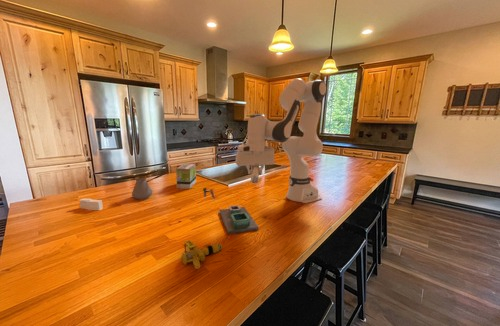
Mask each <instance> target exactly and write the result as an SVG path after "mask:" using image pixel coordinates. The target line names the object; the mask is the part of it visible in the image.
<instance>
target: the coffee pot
mask: <svg viewBox="0 0 500 326" xmlns="http://www.w3.org/2000/svg"><path fill="white" fill-rule="evenodd" d="M165 175H167V176H169V173H168V172H167V171H166V172H164V173H162V174H159V175H156V176H154V177H153V178H150V179H148V180H147V176H145V175H140V176H136V177H135V178H134V179H135V184H134V187H133V188H132V192H131V196H132V198H135V199H136V200H141V201H142V200H146V199H148V198H150V197H151V196H152V194H153V190H152V188H151V186H150V184H149V182H151V181H153V180H156V179H158V178H161V177H162V176H165Z"/></svg>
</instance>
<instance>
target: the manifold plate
mask: <svg viewBox="0 0 500 326" xmlns="http://www.w3.org/2000/svg"><path fill="white" fill-rule="evenodd" d="M218 211H219V212H218V213H219V215H220V218H221V220H222V222H223V226H224V227H225V231H226V233H227V235H229V236H230V235H234V234H239V233H241V234H242V233H246V232H253V231H259V225H258V224H257V222H256V221H255V220H254V218H253V217H252V216H251V215H252V214H250V213H249V212H248V210H247V208H246V207H245V206H240V205H238V204H237V205H230V206H228V208H224V209H219V210H218Z"/></svg>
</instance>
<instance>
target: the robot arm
mask: <svg viewBox="0 0 500 326" xmlns="http://www.w3.org/2000/svg"><path fill="white" fill-rule="evenodd" d="M327 87H328V86H327V84H326V82H325V81H324V80H321V79H315V80H310V81H306V82H305V81H304V79H302V78H297V77H296V78H293V79H292V80H290V82H289V83H288V84H287V85H286V86H285V87H284V89H283V91H282V92H281V93H280V95H279V98H278V101H279V104H280V106H281V108H282V109H284V110H285V111H286V114H285V116H284V118H283V119H282V120H279V121H277V120H276V121H275V120H270V119H268V118H267V117H266V116H265V114H264V113H254V114H251V115H249V117H248V121H247V135H248V136H247V142H245V143H243V144H239V145H238V146H237V152H236V154H235V164H236V166H238V167H243V166H244V167H246V169H247V173H248V175H251V174H252V170H251V169H250V168H251V165H255V164H258V165H259V174H262V172H263V169H264V168H265V166H268V165H269V166H270V165H274V164H275V147H272V146H266V145H265V144H266V142H265V141H266V140H268V141H275V142H280V143H281V148H282V150H283V151H284V153H286V155H287V157H288V159H289V164H290V174H289V178H288V179H289V180H288V184H289V186H288V190H287V193H286V195H285V196H286V198H287V199H288V200H289V201H293V202H299V203H303V204H308V203H311V202H316V201H320V200H322V199H323V197H322V196H321V194H319V190H318V188H317V187H316V186H315V185H314V184H313V183H312V182H314V180H315V179H314V178H313V177H309V171H310V165H309V163H308V162H307V161H305V159H304V158H303V157H304V156H305V157H317V156H319V155H321V154H322V152H323V149H324V145H323V142H322V140H321V139H320V138H319V136H318V134H317V128H318V125H319V120H320V117H321V111H322V110H321V109H322V104H321V102H322V101H323V100H324V98H325V97H326V94H327V91H328V90H327V89H328V88H327ZM301 103H304V106H303V108H302V111H301V113H300V110H301V107H302V106H301ZM299 113H300V117H299V122H298V124H297V125H298V129H299V130H300V132H302V133H303V136H297V135H296V136H295V135H293V136H291V135H292V131H293V127H294V125H295V123H296V120H297V118H298V115H299Z"/></svg>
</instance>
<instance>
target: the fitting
mask: <svg viewBox="0 0 500 326" xmlns="http://www.w3.org/2000/svg"><path fill="white" fill-rule="evenodd" d="M250 168H251V169H250V170H252V174H250V183H252V184H258V183H259V181H260V179H259V176H260V173H259V169H260V165H258V164H255V165H250Z"/></svg>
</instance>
